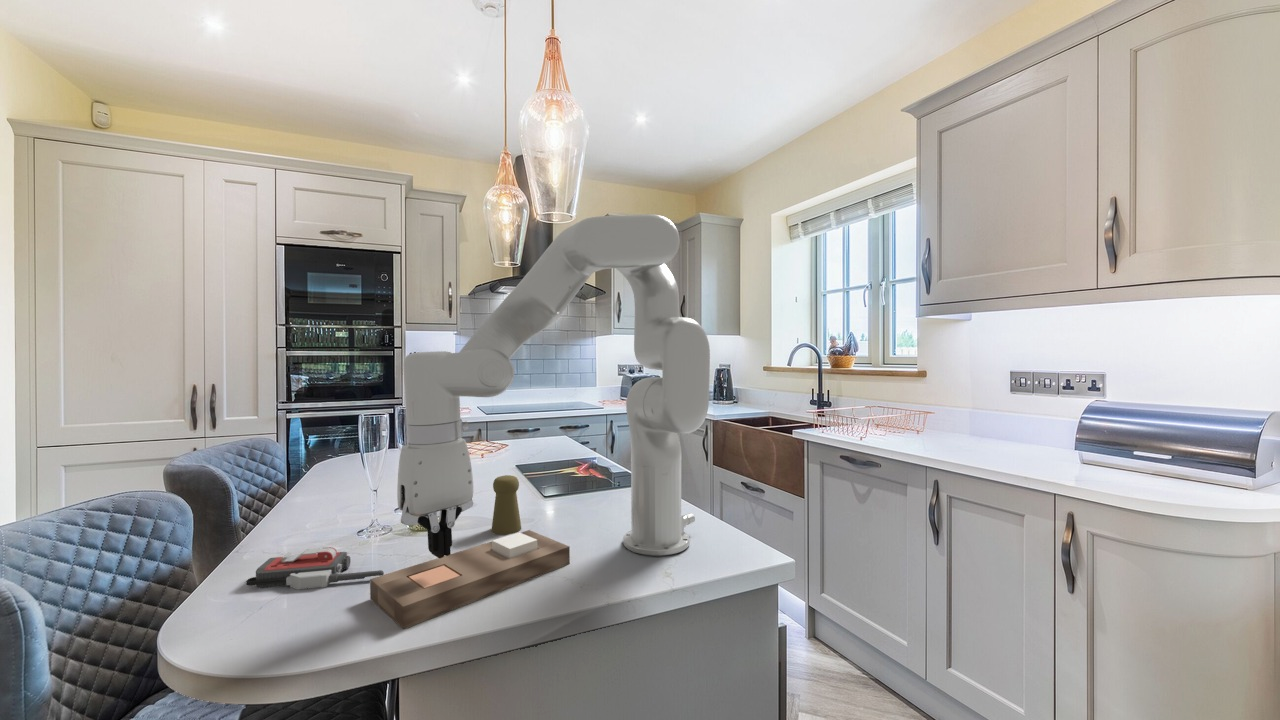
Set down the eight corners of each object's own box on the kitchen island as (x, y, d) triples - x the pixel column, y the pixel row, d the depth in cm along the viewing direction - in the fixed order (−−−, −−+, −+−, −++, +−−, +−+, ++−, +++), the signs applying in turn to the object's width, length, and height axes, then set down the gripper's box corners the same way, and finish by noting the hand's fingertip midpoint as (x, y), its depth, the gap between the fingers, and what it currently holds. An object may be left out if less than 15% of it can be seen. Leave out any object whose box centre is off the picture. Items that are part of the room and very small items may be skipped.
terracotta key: (443, 580, 80) (443, 565, 80) (460, 591, 76) (460, 575, 76) (409, 592, 76) (408, 576, 76) (424, 604, 72) (424, 587, 72)
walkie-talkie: (237, 598, 77) (381, 584, 81) (237, 569, 76) (381, 557, 81) (266, 573, 85) (395, 562, 90) (265, 547, 85) (395, 537, 90)
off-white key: (519, 545, 90) (519, 532, 90) (537, 553, 87) (537, 539, 87) (492, 554, 86) (492, 540, 86) (510, 563, 83) (509, 548, 83)
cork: (484, 531, 103) (484, 478, 103) (505, 522, 109) (505, 471, 109) (507, 536, 101) (506, 481, 100) (527, 527, 106) (527, 474, 106)
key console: (529, 545, 96) (529, 530, 96) (569, 563, 88) (569, 546, 87) (370, 599, 75) (370, 579, 75) (403, 629, 67) (403, 606, 67)
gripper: (468, 424, 84) (473, 533, 85) (372, 439, 73) (379, 564, 74) (492, 428, 79) (498, 545, 80) (392, 445, 68) (400, 579, 69)
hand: (440, 554), depth 77 cm, fingers closed
